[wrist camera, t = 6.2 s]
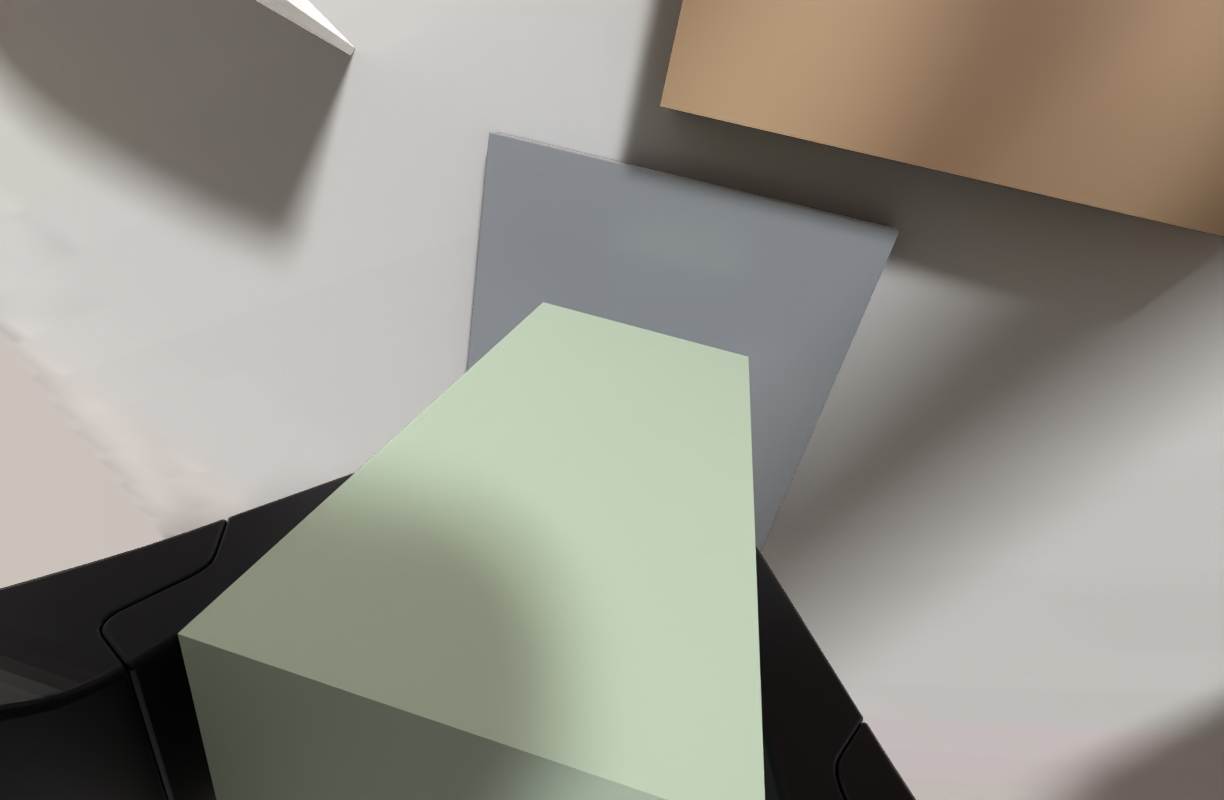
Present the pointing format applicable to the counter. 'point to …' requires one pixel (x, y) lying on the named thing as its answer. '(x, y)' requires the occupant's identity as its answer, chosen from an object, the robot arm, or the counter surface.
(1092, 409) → the counter surface
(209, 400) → the counter surface
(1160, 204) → the pocket block
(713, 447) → the green block
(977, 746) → the counter surface
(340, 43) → the toilet paper
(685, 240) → the coaster
